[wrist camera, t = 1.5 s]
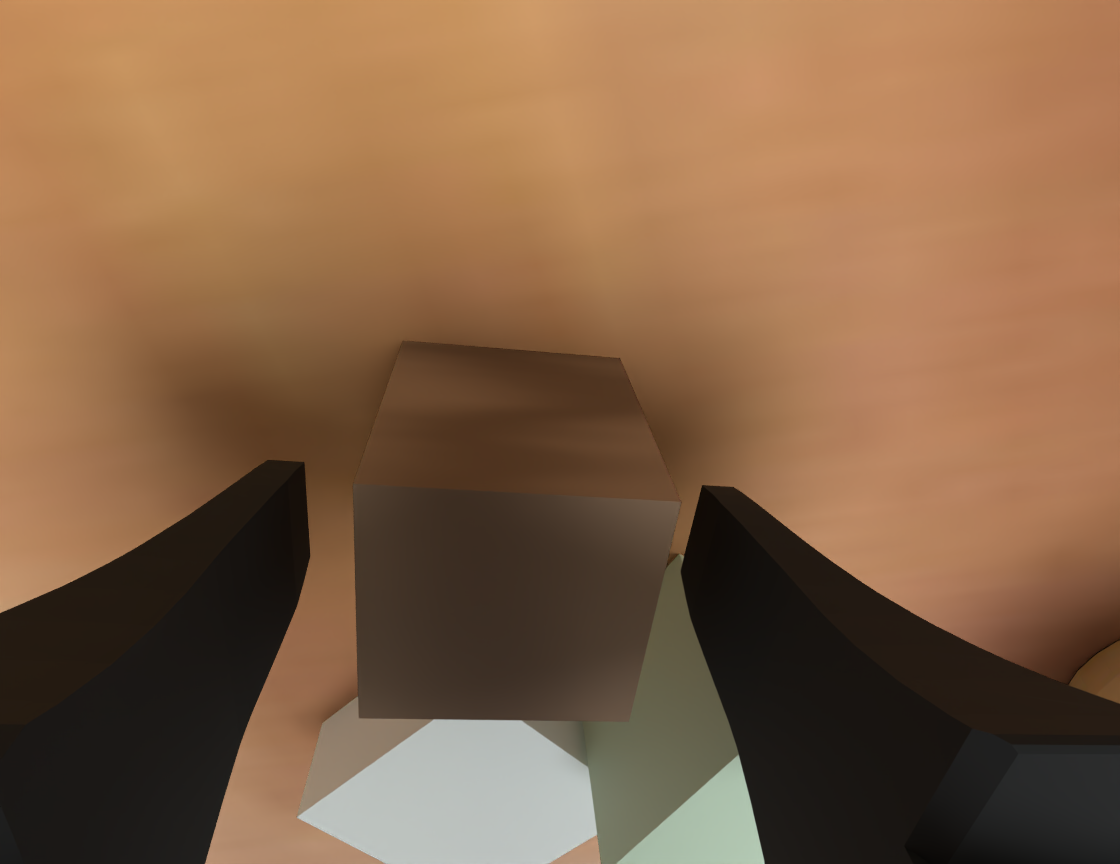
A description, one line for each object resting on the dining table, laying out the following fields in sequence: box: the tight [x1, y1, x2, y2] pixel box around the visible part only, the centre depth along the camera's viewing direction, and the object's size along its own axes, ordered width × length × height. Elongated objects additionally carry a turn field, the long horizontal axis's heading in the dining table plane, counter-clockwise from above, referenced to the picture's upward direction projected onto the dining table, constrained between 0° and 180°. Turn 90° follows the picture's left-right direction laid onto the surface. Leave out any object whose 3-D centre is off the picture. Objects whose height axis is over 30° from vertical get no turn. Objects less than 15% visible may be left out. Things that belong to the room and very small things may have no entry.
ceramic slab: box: [297, 696, 597, 864], centre depth 18 cm, size 6×6×3 cm
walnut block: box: [353, 341, 681, 722], centre depth 13 cm, size 4×4×6 cm
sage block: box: [582, 554, 765, 864], centre depth 16 cm, size 4×4×6 cm
